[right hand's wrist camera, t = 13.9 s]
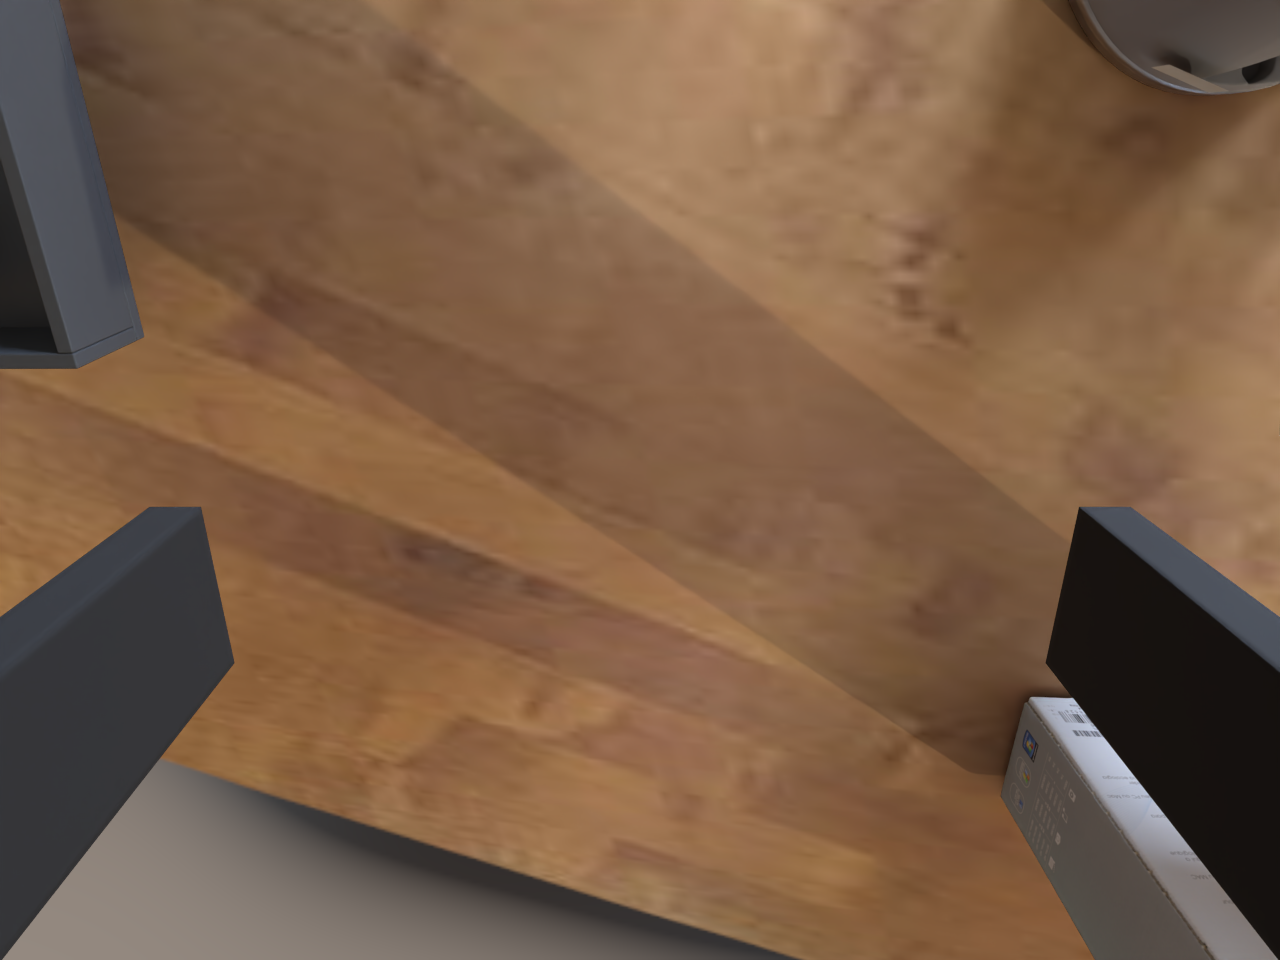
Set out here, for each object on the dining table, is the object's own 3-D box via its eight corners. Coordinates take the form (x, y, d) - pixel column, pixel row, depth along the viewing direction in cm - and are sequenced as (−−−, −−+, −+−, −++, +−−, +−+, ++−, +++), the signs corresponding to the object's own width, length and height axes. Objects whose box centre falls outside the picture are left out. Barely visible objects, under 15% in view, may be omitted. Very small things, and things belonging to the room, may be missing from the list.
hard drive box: (995, 797, 51) (1203, 1173, 32) (1022, 692, 48) (1268, 1038, 29) (1246, 805, 51) (1596, 1182, 32) (1288, 701, 48) (1698, 1050, 30)
